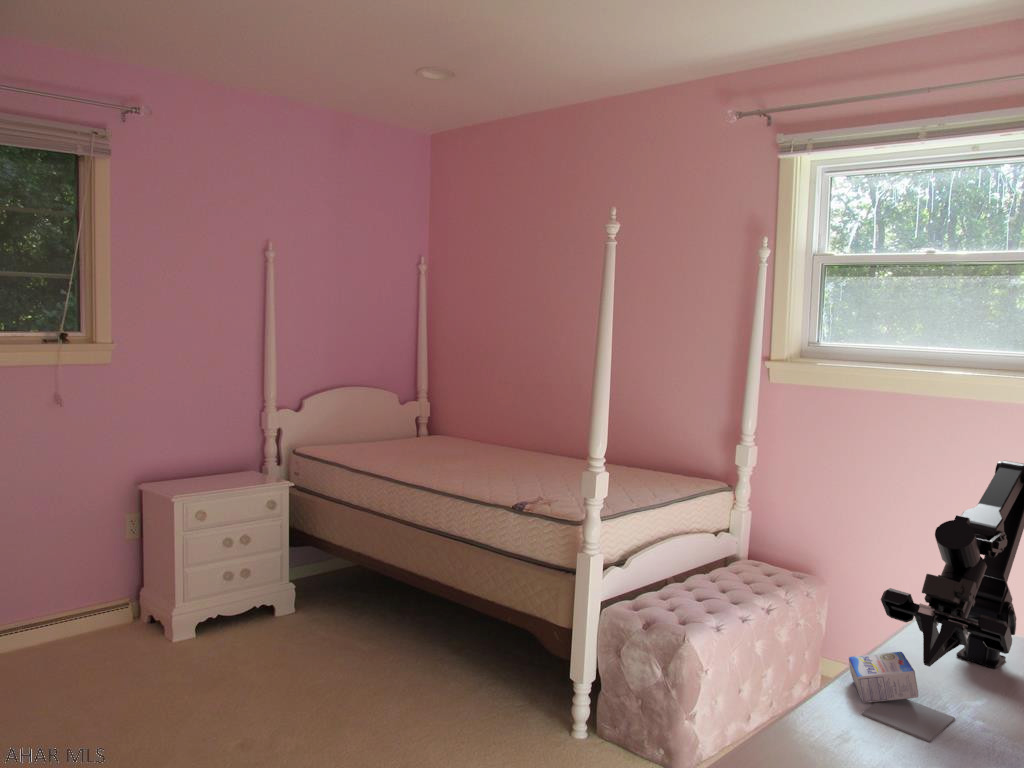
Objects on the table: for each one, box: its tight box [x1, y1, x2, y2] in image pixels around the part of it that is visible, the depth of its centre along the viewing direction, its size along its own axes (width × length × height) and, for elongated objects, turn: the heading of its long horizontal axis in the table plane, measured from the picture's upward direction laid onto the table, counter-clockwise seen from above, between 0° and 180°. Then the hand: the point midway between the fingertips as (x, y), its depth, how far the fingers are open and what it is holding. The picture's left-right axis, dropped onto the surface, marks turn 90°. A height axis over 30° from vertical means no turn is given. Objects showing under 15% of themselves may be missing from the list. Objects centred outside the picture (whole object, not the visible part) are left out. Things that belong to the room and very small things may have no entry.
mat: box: [861, 698, 956, 743], centre depth 128 cm, size 10×10×1 cm
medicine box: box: [848, 651, 919, 704], centre depth 135 cm, size 8×4×9 cm
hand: (926, 664), depth 131 cm, fingers closed
